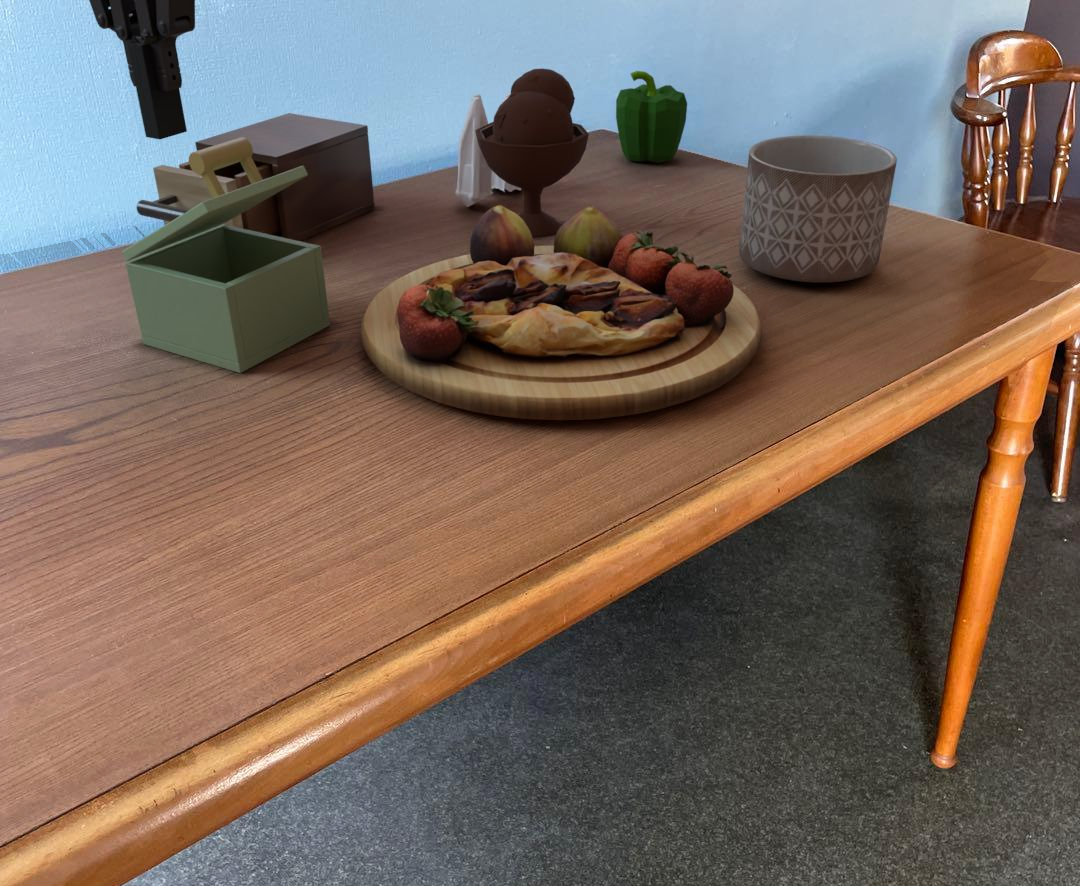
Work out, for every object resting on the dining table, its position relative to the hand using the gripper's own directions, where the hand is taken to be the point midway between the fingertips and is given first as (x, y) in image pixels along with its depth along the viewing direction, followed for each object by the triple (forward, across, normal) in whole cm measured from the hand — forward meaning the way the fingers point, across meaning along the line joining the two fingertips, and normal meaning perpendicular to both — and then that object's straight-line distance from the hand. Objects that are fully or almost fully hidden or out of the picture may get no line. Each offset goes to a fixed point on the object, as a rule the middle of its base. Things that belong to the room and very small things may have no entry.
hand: (166, 133), depth 82 cm
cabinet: (+15, +12, -25) cm, 32 cm away
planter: (+16, -39, -38) cm, 57 cm away
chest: (+15, -4, 0) cm, 16 cm away
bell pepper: (+16, -10, -64) cm, 67 cm away
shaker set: (+16, -2, -41) cm, 44 cm away
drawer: (+15, +12, -16) cm, 25 cm away
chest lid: (+6, -4, 0) cm, 7 cm away
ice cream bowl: (+16, -11, -35) cm, 40 cm away
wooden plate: (+16, -27, -13) cm, 34 cm away
